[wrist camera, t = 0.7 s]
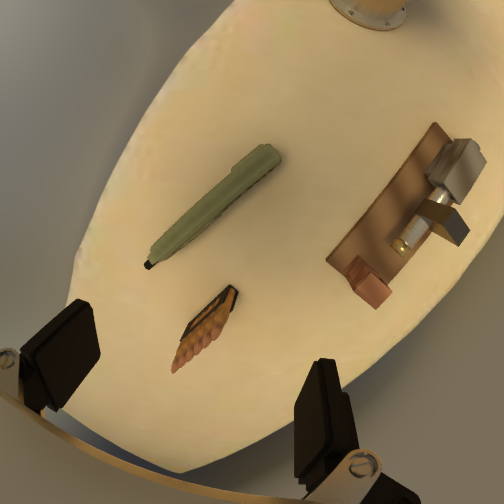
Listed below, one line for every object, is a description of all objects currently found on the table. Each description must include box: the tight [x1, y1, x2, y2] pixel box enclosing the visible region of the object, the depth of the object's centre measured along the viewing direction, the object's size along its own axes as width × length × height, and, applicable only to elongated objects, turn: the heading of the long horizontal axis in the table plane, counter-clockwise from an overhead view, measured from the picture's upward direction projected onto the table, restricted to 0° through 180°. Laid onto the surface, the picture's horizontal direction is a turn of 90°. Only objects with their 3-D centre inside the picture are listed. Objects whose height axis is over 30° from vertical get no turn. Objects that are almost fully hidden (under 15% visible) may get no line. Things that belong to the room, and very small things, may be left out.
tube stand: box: [326, 122, 487, 310], centre depth 30 cm, size 26×10×7 cm, turn 142°
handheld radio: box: [144, 144, 281, 270], centre depth 34 cm, size 7×3×25 cm
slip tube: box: [390, 140, 480, 259], centre depth 25 cm, size 20×4×8 cm, turn 142°
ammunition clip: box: [171, 285, 239, 374], centre depth 36 cm, size 11×2×12 cm, turn 136°
